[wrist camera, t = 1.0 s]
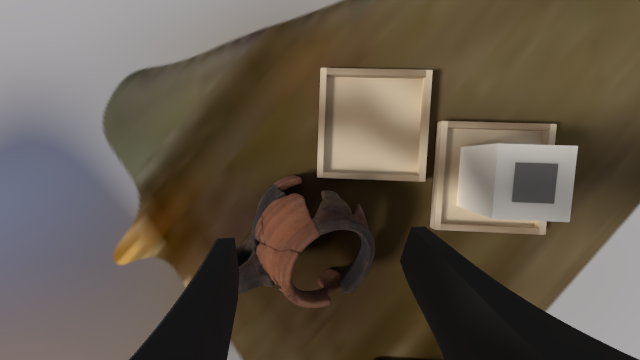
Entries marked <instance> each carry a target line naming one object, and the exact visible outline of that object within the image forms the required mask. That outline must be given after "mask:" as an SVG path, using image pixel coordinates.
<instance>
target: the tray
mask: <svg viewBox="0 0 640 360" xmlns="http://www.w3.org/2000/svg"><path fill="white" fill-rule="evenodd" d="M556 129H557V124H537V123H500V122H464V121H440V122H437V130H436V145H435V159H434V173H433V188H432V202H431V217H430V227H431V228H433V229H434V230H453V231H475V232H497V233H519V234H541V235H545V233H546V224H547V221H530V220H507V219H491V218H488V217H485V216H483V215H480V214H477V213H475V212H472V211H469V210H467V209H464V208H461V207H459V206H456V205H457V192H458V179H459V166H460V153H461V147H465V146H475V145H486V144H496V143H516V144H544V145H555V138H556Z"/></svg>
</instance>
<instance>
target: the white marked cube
mask: <svg viewBox="0 0 640 360" xmlns="http://www.w3.org/2000/svg"><path fill="white" fill-rule="evenodd" d="M577 152H578V146H569V145H544V144H516V143H496V144H486V145H475V146H465V147H461V153H460V166H459V179H458V192H457V205H456V206H459V207H461V208H464V209H467V210H469V211H472V212H475V213H477V214H480V215H483V216H485V217H488V218H491V219H507V220H530V221H553V222H570V214H571V205H572V196H573V188H574V179H575V170H576V161H577Z"/></svg>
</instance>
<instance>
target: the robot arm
mask: <svg viewBox="0 0 640 360" xmlns="http://www.w3.org/2000/svg"><path fill="white" fill-rule="evenodd" d="M400 262H401V265H402V268H403V271H404V274H405V276H406V279H407V282H408V284H409V286H410V288H411V290H412V292H413V294H414V296H415V298H416V300H417V302H418V304H419V306H420V308H421V310H422V312H423V314H424V316H425V318H426V320H427V322H428V324H429V326H430V328H431V330H432V332H433V334H434V336H435V338H436V340H437V342H438V345H439V347H440V349H441V352H442V354H443V357H444V359H445V360H638V359H636V358H634V357H631V356H629V355H627V354H625V353H623V352H621V351H619V350H617V349H615V348H613V347H610V346H609V345H607V344H604V343H603V342H601V341H599V340H596V339H594V338H592V337H590V336H589V335H587V334H585V333H583V332H581V331H579V330H577V329H575V328H573V327H571V326H570V325H568V324H566V323H564V322H562V321H561V320H559V319H557V318H555V317H553V316H552V315H550V314H548V313H546V312H545V311H543V310H541V309H539V308H538V307H536V306H534V305H533V304H531V303H530V302H528V301H526V300H525V299H523V298H522V297H520V296H518V295H517V294H515V293H514V292H512V291H511V290H509V289H508V288H506V287H505V286H503V285H502V284H500V283H499V282H497V281H496V280H495V279H493V278H492V277H490V276H489V275H487V274H486V273H485V272H483V271H482V270H481V269H479V268H478V267H476V266H475V265H474V264H472V263H471V262H470V261H468V260H467V259H466V258H465V257H463V256H462V255H461V254H459V253H458V252H457V251H456V250H454V249H453V248H452V247H450V246H449V245H448V244H447V243H445V242H444V241H443V240H442V239H440V238H439V237H438V236H436V235H435V234H434V233H433V232H431V231H430V230H429V229H427V228H426V227H411V229H410V232H409V235H408V238H407V241H406V244H405V247H404V250H403V253H402V256H401V259H400ZM239 274H240V273H239V266H238V259H237V252H236V245H235V238H222V239H217V240H216V241H215V242H214V244H213V246H212V247H211V249H210V251H209V253H208V254H207V256H206V258H205V259H204V261H203V263H202V264H201V266H200V268H199V269H198V271H197V272H196V274H195V275H194V277H193V278H192V280H191V281H190V283H189V284H188V286H187V287H186V289H185V290H184V292H183V293H182V295H181V296H180V297H179V299H178V300H177V301H176V303H175V304H174V305H173V307H172V308H171V309H170V311H169V312H168V313H167V315H166V316H165V317H164V319H163V320H162V321H161V322H160V324H159V325H158V326H157V328H156V329H155V330H154V331H153V333H152V334H151V335H150V336H149V337H148V339H147V340H146V341H145V342H144V343H143V344H142V346H141V347H140V348H139V349H138V350H137V352H136V353H135V354H134V355H133V356H132V357H131V358H130V359H129V360H227V355H228V349H229V344H230V339H231V334H232V328H233V323H234V317H235V312H236V306H237V300H238V288H239Z"/></svg>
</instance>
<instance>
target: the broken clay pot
mask: <svg viewBox="0 0 640 360" xmlns="http://www.w3.org/2000/svg"><path fill="white" fill-rule="evenodd" d="M301 183H302V179H301V178H300V177H298V176H296V175H291V176H287V177H284V178H282V179H280V180H279V181H277V182H275V183H274V184H273V185H271V186H270V187H269V188H268V189H267V190H266V191H265V193H264V194H263V196H262V197H261V199H260V201H259V204H258V207H257V213H256V215H255V218H254V221H253V225H252V228H251V235H250V236H249V237H248V239H247V240H246V241H245V242H243V243H242V244H241V245H239V246H238V247H236V252H237V259H238V266H239V273H240V274H239V288H238V293H244V292H247V291H249V290H252V289H254V288H257V287H260V286H268V287H273V286H274V282H275V284H277V285H279V290H281V291H282V292H283V293H284V295H285V296H286V297H287V298H288V299H289V300H290V301H291V302H293V303H294V304H296V305H298V306H301V307H307V308H318V307H324V306H327V305H329V304H331V300H330V297H329V296H328V294H329V293H332V292H334V291H335V290H337V289H338V288H340V287H341V288H342V291H343V293H344V294H348V293H352V292H353V291H354V290H355V289H356V288H357V287H358V286H359V285H360V284H361V282H362V281H363V280H364V279H365V278H366V276H367V274H368V273H369V271H370V269H371V266H372V263H373V259H374V255H375V241H374V238H373V235H372V233H371V232H370V231H369V227H368V224H367V220H366V217H365V214H364V211H363V210H362V208H361V206H360V204H358V205H356V211H355V212H354V213H353V215H352V212H351V209H350V207H349V206H348V204H347V203H346V202H345V201H344V200H342V199H341V198H340V197H339V195H338V194H337V193H336V192H334V191H328V190H323V191H322V192H321V196H322V199H323V201H322V202H321V204H320V206H319V209H318V211H317V212H316V214H315V215H314V217H313V218H311V215H310V212H309V210H308V208H307V206H306V203H305V199H304V197H303V196H301V195H300V194H296V193H293V194H290V195H288V196H287V195H286V193H284V192H282V191H283V190H285V189H287V188H290V187H292V186H295V185H299V184H301ZM335 230H350V231H353V232H355V233H357V234H358V235H359V236H360V238H361V242H362V245H361V248H360V251H359V253H358V255H357V257H356V259H355V261H354V262H353V263H352V264H351V265H350V266H348V267H347V268H346V269H345V270H343V271H342V272H341V273H339V272H337V271H335V270H333V269H328V270H327V271H325V272H324V273H323V274H322V275H321V276H320V277H319V278H318V283H319V285H320V286H322V287H323V288H321V289H319V290H315V291H301V290H299V289H297V288H296V287H295V286H294V285H293V282H292V272H293V268H294V265H295V262H296V260H297V259H298V257H299V255H300V253H301V252H302V251H303V250H304V249H305V248H306V247H307V246H308V245H309V244H310V243H311V242H313V241H314V240H315V239H317V238H318V237H319V236H320V235H322V234H325V233H328V232H331V231H335Z"/></svg>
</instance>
